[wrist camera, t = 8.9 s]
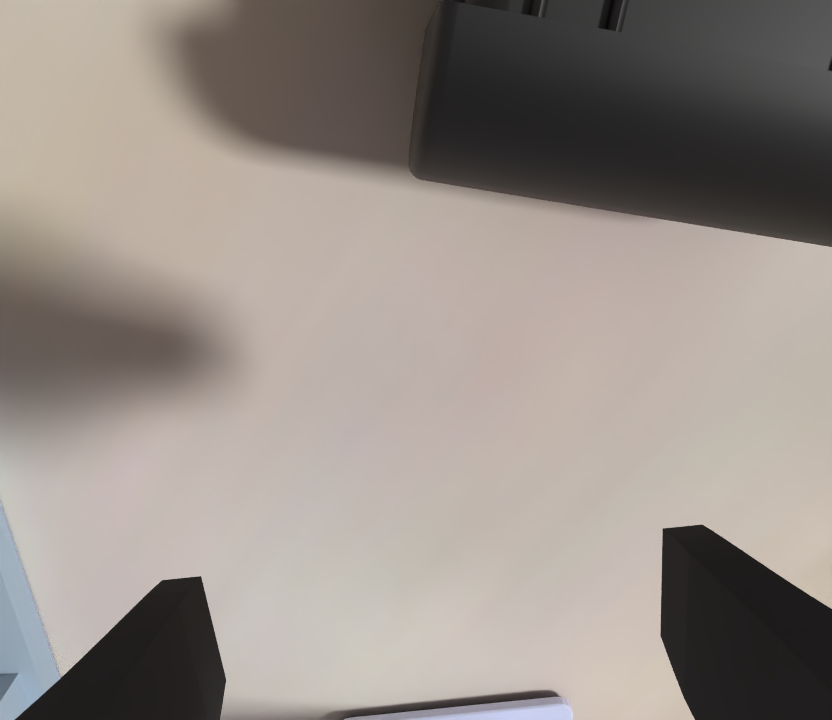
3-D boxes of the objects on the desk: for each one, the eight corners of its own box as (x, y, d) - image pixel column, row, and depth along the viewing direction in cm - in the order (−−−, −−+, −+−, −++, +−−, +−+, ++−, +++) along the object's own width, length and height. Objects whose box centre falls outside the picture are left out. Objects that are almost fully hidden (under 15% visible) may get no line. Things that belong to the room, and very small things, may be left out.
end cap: (404, 162, 19) (410, 196, 12) (452, -159, 16) (490, -322, 10) (770, 222, 19) (953, 283, 13) (867, -74, 17) (1147, -176, 11)
